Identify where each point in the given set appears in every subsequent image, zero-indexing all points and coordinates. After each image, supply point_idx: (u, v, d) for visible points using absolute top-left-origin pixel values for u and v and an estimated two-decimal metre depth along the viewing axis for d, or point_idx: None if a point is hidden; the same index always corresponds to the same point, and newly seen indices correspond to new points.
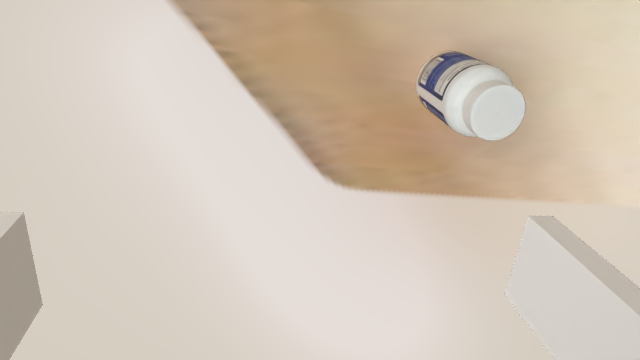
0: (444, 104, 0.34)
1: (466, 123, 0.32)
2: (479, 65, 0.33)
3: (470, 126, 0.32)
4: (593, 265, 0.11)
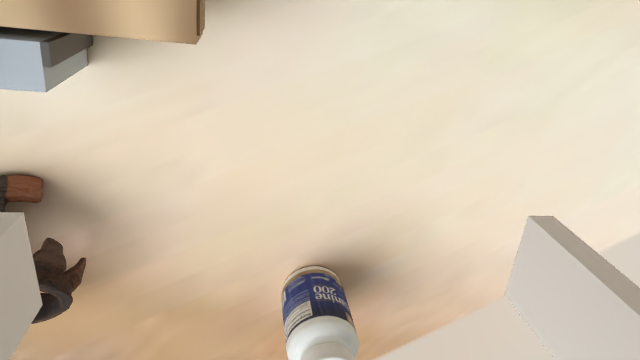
0: None
1: None
2: (298, 327, 0.33)
3: None
4: (593, 265, 0.11)
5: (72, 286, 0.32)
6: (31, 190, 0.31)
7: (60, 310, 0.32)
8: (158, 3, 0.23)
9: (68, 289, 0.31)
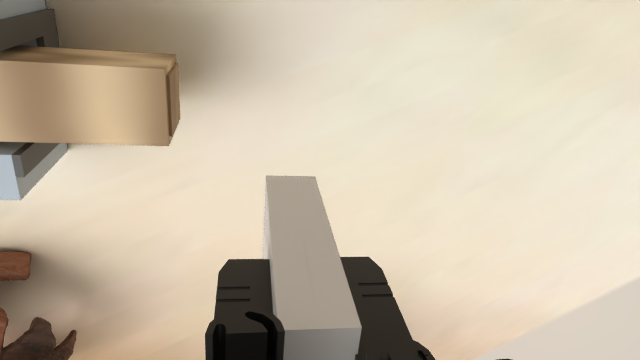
0: None
1: None
2: None
3: None
4: (308, 214, 0.12)
5: None
6: (18, 268, 0.31)
7: None
8: (128, 110, 0.23)
9: None
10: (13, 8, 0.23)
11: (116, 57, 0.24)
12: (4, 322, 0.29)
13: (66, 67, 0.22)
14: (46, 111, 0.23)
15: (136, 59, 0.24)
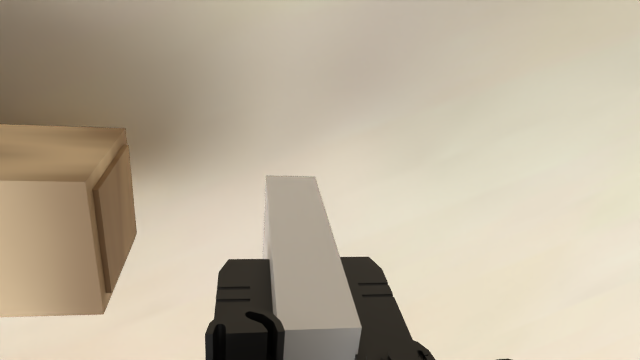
0: None
1: None
2: None
3: None
4: (308, 214, 0.12)
5: None
6: None
7: None
8: (17, 259, 0.12)
9: None
10: None
11: (3, 145, 0.13)
12: None
13: None
14: None
15: (41, 149, 0.12)
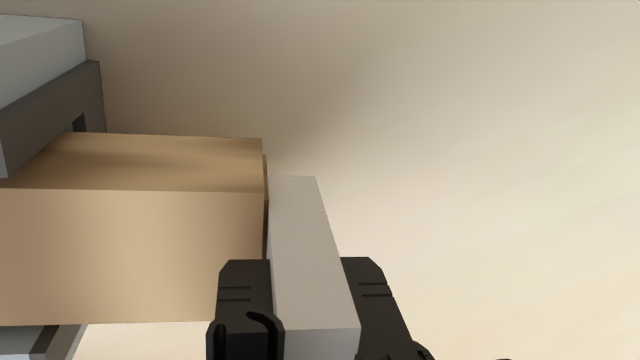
0: None
1: None
2: None
3: None
4: (307, 214, 0.12)
5: None
6: None
7: None
8: (190, 266, 0.12)
9: None
10: (35, 74, 0.12)
11: (164, 156, 0.13)
12: None
13: (73, 196, 0.11)
14: (33, 274, 0.12)
15: (201, 160, 0.13)
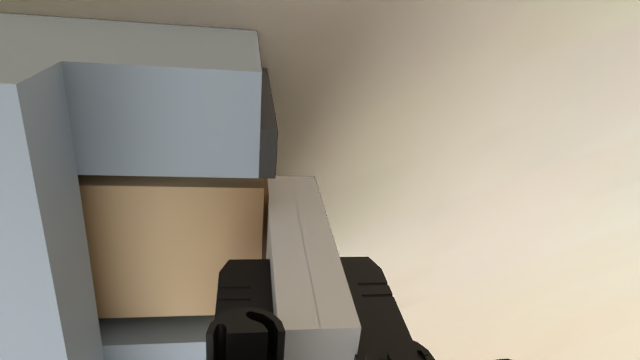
0: None
1: None
2: None
3: None
4: (308, 214, 0.12)
5: None
6: None
7: None
8: (190, 261, 0.12)
9: None
10: None
11: None
12: None
13: None
14: None
15: None
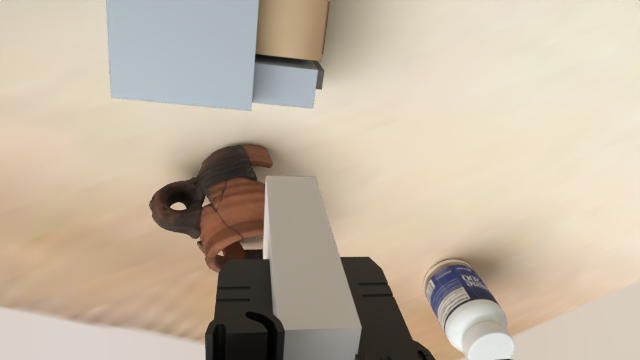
0: (450, 342, 0.41)
1: None
2: (459, 308, 0.39)
3: None
4: (308, 214, 0.12)
5: None
6: (265, 157, 0.37)
7: None
8: (294, 28, 0.29)
9: None
10: None
11: None
12: None
13: None
14: None
15: None
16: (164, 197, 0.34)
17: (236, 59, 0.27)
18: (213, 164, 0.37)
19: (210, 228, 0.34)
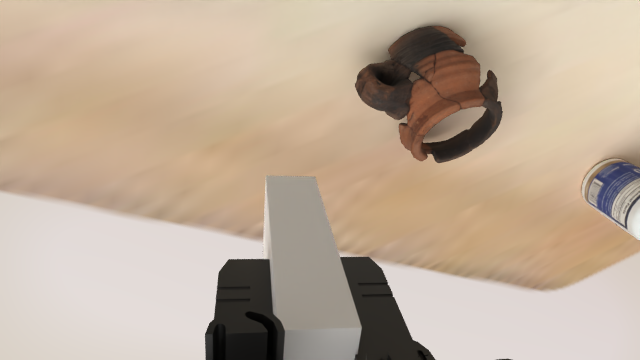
0: (631, 233, 0.40)
1: None
2: None
3: None
4: (308, 214, 0.12)
5: None
6: None
7: (478, 144, 0.37)
8: None
9: None
10: None
11: None
12: (479, 65, 0.34)
13: None
14: None
15: None
16: (373, 74, 0.33)
17: None
18: (408, 44, 0.35)
19: (422, 103, 0.33)
